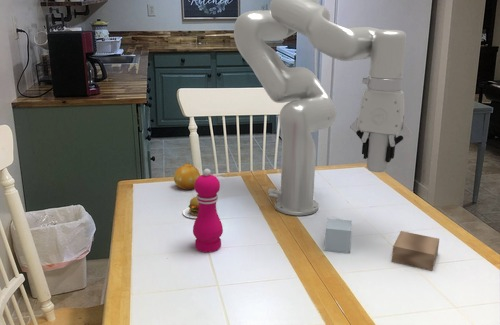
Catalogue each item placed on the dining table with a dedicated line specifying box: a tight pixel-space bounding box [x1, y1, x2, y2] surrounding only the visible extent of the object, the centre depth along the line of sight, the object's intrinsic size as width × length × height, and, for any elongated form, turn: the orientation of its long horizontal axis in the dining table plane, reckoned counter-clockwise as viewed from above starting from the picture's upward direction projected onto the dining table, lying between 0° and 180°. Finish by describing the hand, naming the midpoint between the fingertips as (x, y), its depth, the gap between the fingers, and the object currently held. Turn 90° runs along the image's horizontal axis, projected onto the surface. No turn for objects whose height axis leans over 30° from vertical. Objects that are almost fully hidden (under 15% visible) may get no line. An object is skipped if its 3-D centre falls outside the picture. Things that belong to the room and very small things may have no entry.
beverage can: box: [366, 133, 390, 173], centre depth 123 cm, size 5×5×12 cm
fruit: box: [173, 162, 201, 190], centre depth 162 cm, size 8×8×8 cm
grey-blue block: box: [323, 217, 352, 254], centre depth 125 cm, size 6×6×6 cm
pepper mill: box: [192, 168, 224, 253], centre depth 122 cm, size 7×7×20 cm
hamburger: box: [182, 195, 199, 220], centre depth 143 cm, size 12×12×6 cm
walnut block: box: [391, 230, 440, 272], centre depth 120 cm, size 9×9×4 cm
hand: (377, 158), depth 124 cm, fingers closed on beverage can, 4 cm apart
